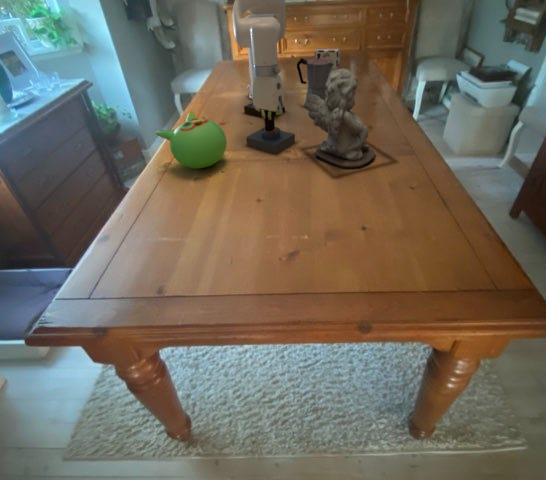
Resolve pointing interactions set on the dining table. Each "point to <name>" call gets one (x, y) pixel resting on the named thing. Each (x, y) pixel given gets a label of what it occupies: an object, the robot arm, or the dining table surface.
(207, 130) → the toy bird
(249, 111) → the panel
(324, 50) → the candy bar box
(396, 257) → the dining table surface
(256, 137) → the dark piece
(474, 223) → the dining table surface
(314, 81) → the moka pot
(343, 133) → the angel statue
